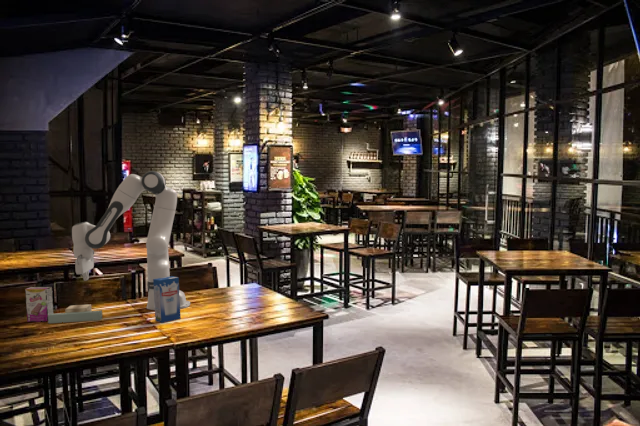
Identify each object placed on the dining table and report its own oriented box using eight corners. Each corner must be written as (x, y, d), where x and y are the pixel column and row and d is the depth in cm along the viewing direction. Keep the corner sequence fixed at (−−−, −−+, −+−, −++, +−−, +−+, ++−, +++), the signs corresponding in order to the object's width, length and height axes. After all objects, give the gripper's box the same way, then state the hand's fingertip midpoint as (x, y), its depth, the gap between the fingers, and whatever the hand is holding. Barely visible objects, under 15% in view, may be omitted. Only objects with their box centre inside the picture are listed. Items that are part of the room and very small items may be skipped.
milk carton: (174, 316, 262) (172, 276, 261) (180, 318, 258) (178, 277, 257) (155, 320, 255) (153, 279, 254) (161, 322, 251) (159, 280, 250)
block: (91, 316, 271) (91, 304, 271) (87, 319, 263) (86, 307, 263) (70, 317, 270) (70, 305, 269) (65, 321, 262) (65, 309, 261)
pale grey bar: (102, 318, 264) (101, 310, 264) (100, 319, 261) (100, 311, 261) (50, 321, 261) (50, 313, 261) (48, 323, 258) (47, 315, 258)
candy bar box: (26, 322, 262) (24, 288, 261) (33, 319, 267) (30, 286, 266) (48, 322, 261) (46, 288, 260) (54, 319, 266) (52, 286, 265)
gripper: (83, 255, 268) (86, 283, 269) (95, 250, 288) (97, 276, 289) (70, 256, 267) (73, 284, 268) (82, 251, 287) (85, 277, 288)
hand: (86, 280), depth 279 cm, fingers closed
